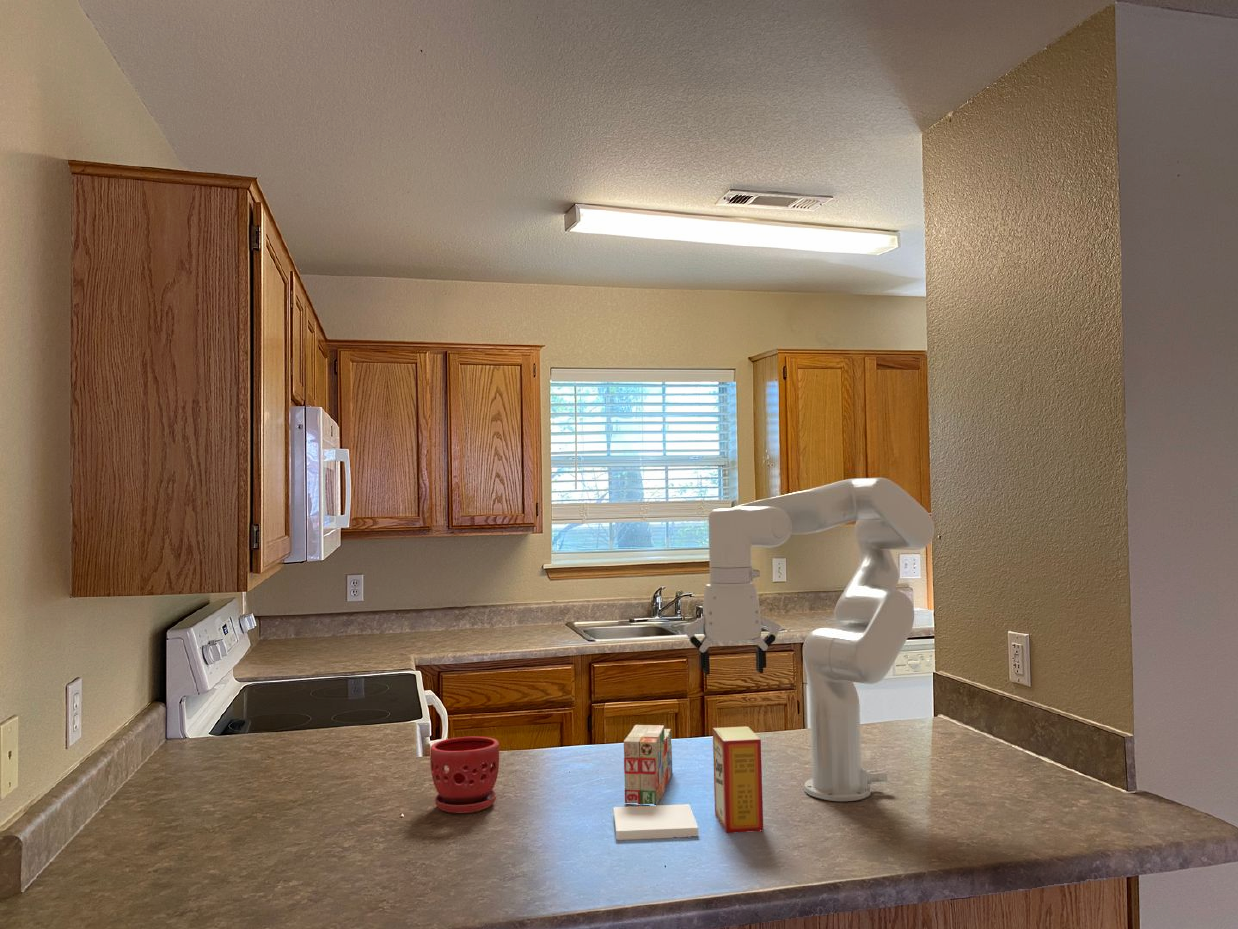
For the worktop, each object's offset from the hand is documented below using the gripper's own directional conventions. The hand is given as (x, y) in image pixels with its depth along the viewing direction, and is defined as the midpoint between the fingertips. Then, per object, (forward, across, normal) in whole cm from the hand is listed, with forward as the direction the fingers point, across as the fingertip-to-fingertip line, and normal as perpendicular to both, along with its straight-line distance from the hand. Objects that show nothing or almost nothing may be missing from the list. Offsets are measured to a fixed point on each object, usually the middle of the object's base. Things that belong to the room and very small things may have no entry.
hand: (733, 672), depth 161 cm
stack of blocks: (+27, +14, -21) cm, 37 cm away
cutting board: (+26, +15, 0) cm, 30 cm away
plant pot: (+27, +50, -15) cm, 58 cm away
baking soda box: (+27, 0, 0) cm, 27 cm away
